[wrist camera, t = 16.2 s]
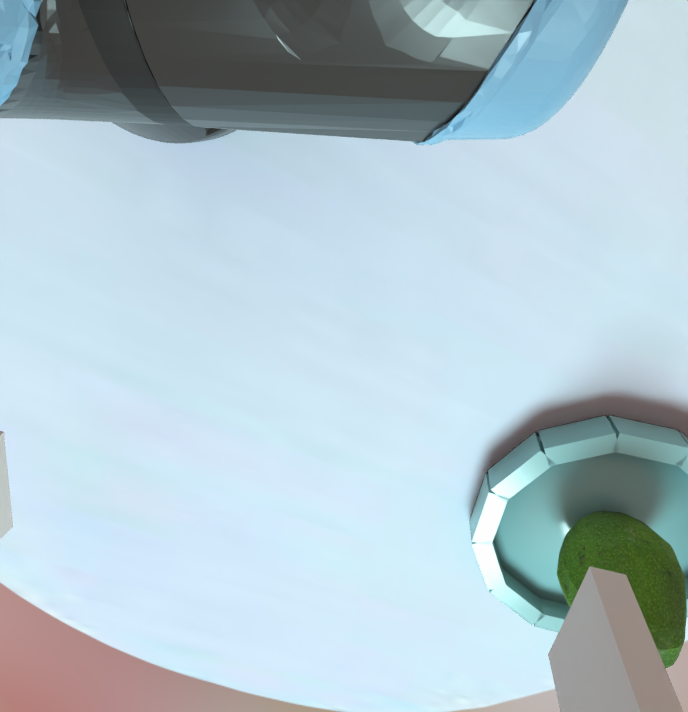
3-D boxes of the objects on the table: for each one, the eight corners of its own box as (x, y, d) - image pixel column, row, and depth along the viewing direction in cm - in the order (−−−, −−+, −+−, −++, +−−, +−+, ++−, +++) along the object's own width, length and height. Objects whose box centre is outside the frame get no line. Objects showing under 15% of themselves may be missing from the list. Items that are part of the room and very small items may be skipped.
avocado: (571, 475, 43) (620, 601, 32) (673, 505, 43) (757, 642, 32) (531, 553, 46) (562, 691, 35) (625, 581, 46) (686, 728, 35)
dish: (512, 394, 42) (516, 410, 39) (776, 451, 41) (797, 471, 38) (448, 583, 50) (449, 606, 47) (668, 635, 49) (680, 661, 46)
